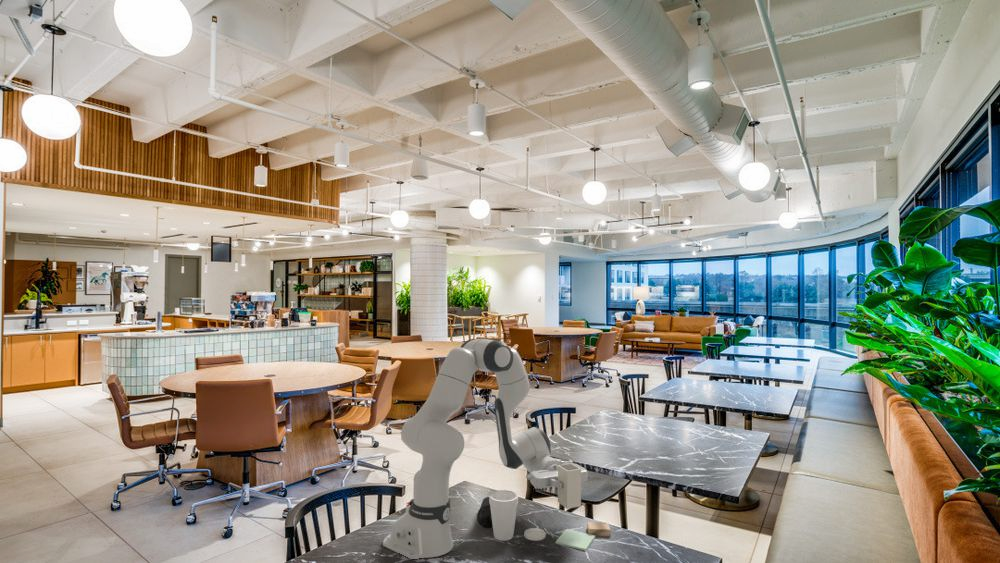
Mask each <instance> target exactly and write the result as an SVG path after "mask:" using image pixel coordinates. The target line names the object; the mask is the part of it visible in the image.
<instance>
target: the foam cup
mask: <svg viewBox="0 0 1000 563" xmlns="http://www.w3.org/2000/svg"><path fill="white" fill-rule="evenodd" d="M488 497H489V503H490V508H491V517H492V525H493V528H492V531H493V537H494V539H496V540H498V541H509V540H512V539H513V538H514V533H515V525H516V518H517V509H518V504H519V495H518V493H516V492H514V491H512V490H506V489H504V490H503V489H501V490H496V491H493V492H491V493H490V494H489V496H488Z"/></svg>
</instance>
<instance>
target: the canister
mask: <svg viewBox="0 0 1000 563" xmlns="http://www.w3.org/2000/svg"><path fill="white" fill-rule="evenodd" d="M558 481H559V482H563V483H564V488H562V489H559V488H557V502H558V503H559V504H560V505H561V506H563V507H564V508H565V509H567V510H568V509H573V508H579V507H582V482H581V469H580V468H578V467H577V466H575V465H573V464H572V463H571V464H564V465H558Z"/></svg>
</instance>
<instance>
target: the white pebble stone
mask: <svg viewBox="0 0 1000 563" xmlns="http://www.w3.org/2000/svg"><path fill="white" fill-rule="evenodd" d="M523 533H524V534H523V537H524V538H525V539H526V540H529V541H534V542H539V541H542V540H544V539H545V538H546V531H545V530H544V529H541V528H537V527H532V528H527V529H526V530H524V532H523Z"/></svg>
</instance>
